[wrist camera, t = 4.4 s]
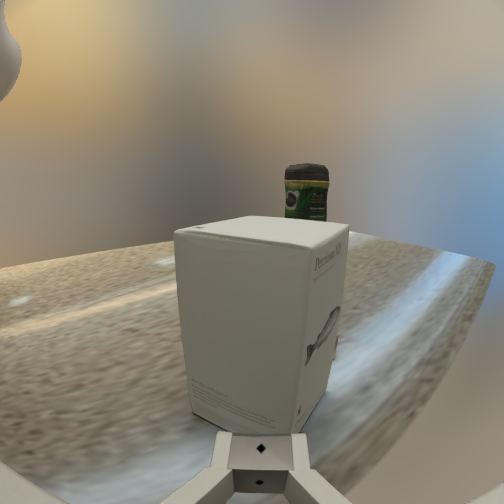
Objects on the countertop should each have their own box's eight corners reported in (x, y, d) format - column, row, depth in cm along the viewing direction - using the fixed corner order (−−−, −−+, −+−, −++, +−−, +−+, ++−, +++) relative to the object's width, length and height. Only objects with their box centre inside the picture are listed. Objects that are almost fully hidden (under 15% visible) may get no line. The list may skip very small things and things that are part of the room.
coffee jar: (332, 254, 58) (336, 164, 53) (300, 258, 55) (303, 161, 50) (307, 244, 67) (309, 165, 62) (277, 247, 64) (279, 163, 59)
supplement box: (286, 458, 13) (311, 246, 10) (189, 412, 17) (167, 227, 14) (329, 389, 19) (353, 222, 16) (247, 363, 23) (247, 212, 20)
